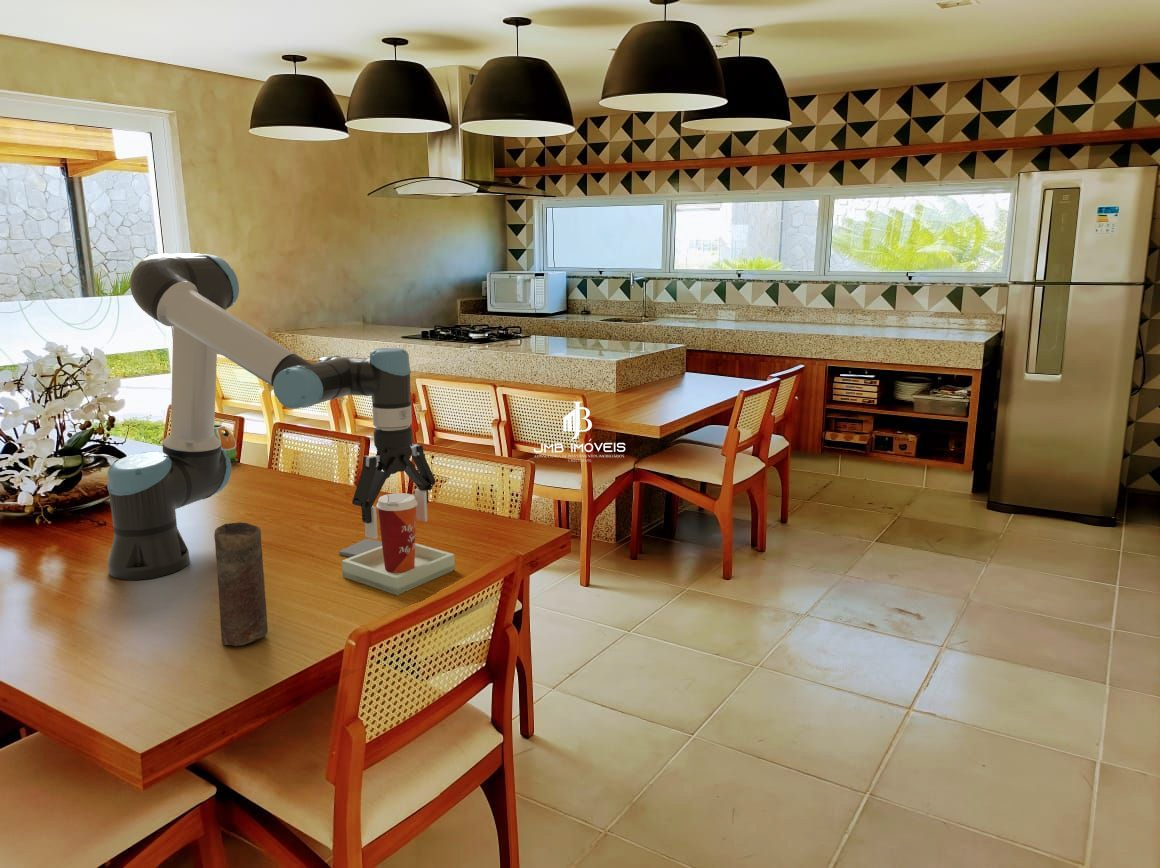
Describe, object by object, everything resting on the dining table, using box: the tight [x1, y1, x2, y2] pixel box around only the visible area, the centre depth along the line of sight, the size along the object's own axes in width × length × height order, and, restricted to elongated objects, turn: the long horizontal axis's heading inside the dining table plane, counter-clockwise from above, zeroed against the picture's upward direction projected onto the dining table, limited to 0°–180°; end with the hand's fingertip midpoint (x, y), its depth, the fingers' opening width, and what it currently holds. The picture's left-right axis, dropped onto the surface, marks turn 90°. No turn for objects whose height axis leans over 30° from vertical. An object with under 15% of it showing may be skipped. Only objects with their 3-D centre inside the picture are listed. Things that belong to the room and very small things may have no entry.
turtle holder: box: [214, 423, 239, 462], centre depth 258 cm, size 12×18×12 cm
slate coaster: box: [338, 538, 382, 558], centre depth 183 cm, size 9×9×1 cm
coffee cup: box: [375, 492, 418, 573], centre depth 169 cm, size 8×8×15 cm
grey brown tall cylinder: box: [213, 521, 269, 647], centre depth 139 cm, size 8×7×20 cm
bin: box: [341, 542, 456, 596], centre depth 170 cm, size 16×16×4 cm
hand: (397, 528), depth 169 cm, fingers open, 13 cm apart
